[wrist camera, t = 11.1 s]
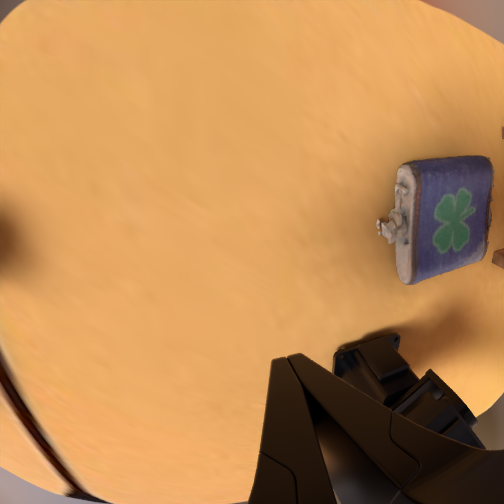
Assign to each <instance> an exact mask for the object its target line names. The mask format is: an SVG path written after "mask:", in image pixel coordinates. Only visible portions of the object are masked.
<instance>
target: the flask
mask: <svg viewBox="0 0 504 504" xmlns="http://www.w3.org/2000/svg"><path fill="white" fill-rule="evenodd" d="M493 180H494V168H493V165H492V163H491V161H490V158H486V157H484V156H458V157H447V158H436V159H426V160H418V161H411V162H407V163H404V164H402V165H401V166H400V167H399V169H398V171H397V184H396V185H395V208H394V209H392V210H391V212H390V214H389V223H386V222H382V223H381V226H382V235H383V237H385V238H387V239H388V243H389V244H392V243H393V242H394V241H395V247H396V268H397V273H398V276H399V278H400V280H401V281H402V282H403V284H405V285H413V284H416V283H418V282H420V281H422V280H425V279H427V278H431V277H434V276H436V275H439V274H442V273H445V272H449V271H452V270H454V269H457V268H460V267H463V266H466V265H469V264H472V263H475V262H478V261H480V260H482V259H483V258H484V256H485V253H486V252H487V247H488V244H489V242H487V240H488V233H489V232H488V231H489V227H490V223H491V221H492V220H491V216H492V214H491V209H490V202H491V201H493V200H492V195H491V191H492V188H493V187H494V186H493ZM376 227H377V230H378V229H380V219H378V220H377V222H376ZM378 235H381V232H380V231H378Z"/></svg>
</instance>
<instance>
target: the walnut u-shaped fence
mask: <svg viewBox="0 0 504 504" xmlns="http://www.w3.org/2000/svg"><path fill="white" fill-rule="evenodd" d="M502 139H504V127H502ZM492 263H494V264H496V265H498V266H499V267H501V268H503V269H504V249H502V250H499V251H496V252H494V255H493V260H492Z"/></svg>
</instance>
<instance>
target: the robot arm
mask: <svg viewBox="0 0 504 504" xmlns="http://www.w3.org/2000/svg"><path fill="white" fill-rule="evenodd" d="M399 343H400V335H399V334H398V333H392V334H389V335H386V336H383V337H380V338H377V339H374V340H371V341H368V342H365V343H362V344H359V345H355V346H352V347H349V348H345V349H342V350H339V351H337V352H336V353H335V354H334V356H333V368H332V373H331V372H329V371H328V370H326V369H325V368H323V367H322V366H320V365H319V364H317V363H316V362H314V361H313V360H311V359H310V358H308V357H306V356H305V355H303V354H302V353H297V354H293V355H289V356H287V358H286V357H280V358H276V359H273V360H272V361H271V368H270V376H269V384H268V392H267V400H266V407H265V415H264V422H263V429H262V436H261V443H260V450H259V453H260V454H259V455H258V462H257V468H256V473H255V478H254V483H253V487H252V490H251V493H250V497H249V500H248V503H247V504H337V502H336V498H335V495H334V491H335V493H336V495H337V497H338V499H339V501H340V503H341V504H504V449H503V450H486V448H485V446H484V445H483V444H482V443H481V441H480V440H479V438H478V437H477V436H476V434H475V433H474V432H473V431H472V428H473V427H474V426H475V425H476V424H477V423H478V421H477V419H476V418H475V416H474V415H473V413H472V412H471V411H470V409H469V408H468V407H467V405H466V404H465V403H464V402H463V401H462V400H461V398H460V397H459V396H458V395H457V394H456V393H455V392H454V391H453V390H452V389H451V388H450V387H449V386H448V385H447V384H446V383H445V382H444V381H443V380H442V379H441V378H440V377H439V376H438V375H437V374H435V373H434V372H433V371H432V370H431V369H429V370H428V371H427V372H426V373H425V375H424V376H423V377H422V378H421V379H419V378H418V377H417V376H416V374H415V373H414V372H413V371H412V370H411V369H410V367H409V366H410V365H409V364H408V363H407V362H406V360H405V359H404V358H403V357H402V356H401V355H400V354H399V353H398V348H399ZM339 356H340V357H339ZM332 487H333V488H332ZM333 489H334V491H333Z"/></svg>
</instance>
